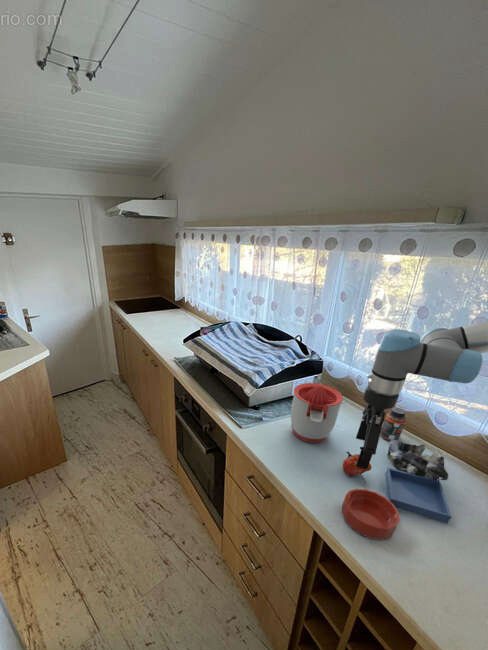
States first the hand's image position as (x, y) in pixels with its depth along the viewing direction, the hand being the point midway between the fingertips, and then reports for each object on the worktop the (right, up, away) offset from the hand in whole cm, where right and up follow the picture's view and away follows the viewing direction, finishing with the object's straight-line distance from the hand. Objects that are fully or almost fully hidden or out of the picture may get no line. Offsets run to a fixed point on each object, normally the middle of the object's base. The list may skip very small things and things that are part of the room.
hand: (361, 452), depth 89 cm
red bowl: (-4, -15, -10) cm, 19 cm away
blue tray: (+13, -12, -3) cm, 18 cm away
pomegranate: (0, -8, +4) cm, 9 cm away
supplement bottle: (+22, +1, +20) cm, 30 cm away
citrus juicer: (-7, +1, +22) cm, 23 cm away
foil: (+19, -6, +6) cm, 21 cm away
